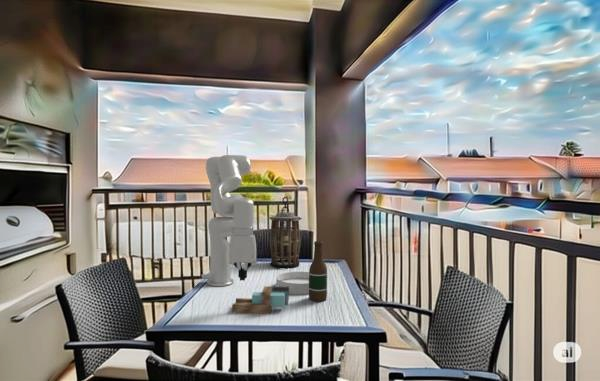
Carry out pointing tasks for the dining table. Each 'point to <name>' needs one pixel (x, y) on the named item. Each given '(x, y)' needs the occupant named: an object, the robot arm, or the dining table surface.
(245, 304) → the brown wooden bracket
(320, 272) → the beer bottle
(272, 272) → the dining table surface
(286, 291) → the cradle block
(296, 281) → the dish
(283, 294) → the teal block
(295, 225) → the lantern
